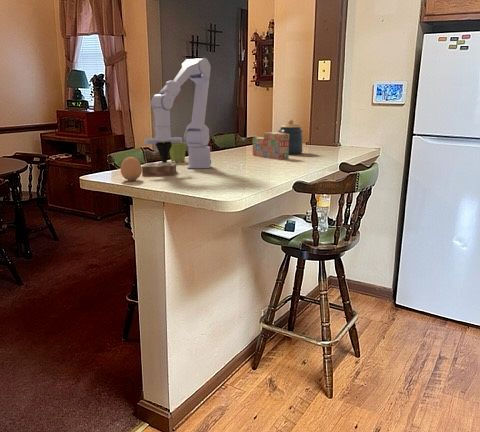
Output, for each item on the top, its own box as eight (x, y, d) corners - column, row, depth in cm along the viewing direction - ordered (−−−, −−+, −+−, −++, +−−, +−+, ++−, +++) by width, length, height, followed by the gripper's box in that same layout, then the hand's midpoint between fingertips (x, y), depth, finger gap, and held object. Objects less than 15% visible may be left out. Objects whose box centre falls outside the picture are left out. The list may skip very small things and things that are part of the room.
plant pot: (163, 162, 217) (162, 143, 215) (174, 160, 225) (173, 141, 223) (181, 163, 213) (181, 144, 211) (191, 160, 222) (190, 142, 220)
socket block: (176, 171, 189) (175, 162, 189) (174, 175, 180) (173, 165, 179) (146, 171, 189) (145, 162, 188) (142, 175, 179) (141, 166, 178)
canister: (303, 154, 244) (304, 120, 240) (278, 154, 245) (279, 120, 240) (301, 152, 257) (301, 119, 253) (277, 152, 257) (277, 119, 253)
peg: (170, 170, 186) (170, 161, 185) (169, 171, 182) (169, 162, 181) (160, 170, 186) (159, 161, 185) (159, 171, 182) (158, 162, 181)
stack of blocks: (252, 155, 242) (252, 131, 239) (261, 155, 246) (262, 131, 243) (279, 159, 225) (279, 133, 222) (289, 159, 229) (289, 133, 226)
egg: (123, 183, 164) (121, 158, 162) (119, 179, 170) (118, 156, 168) (144, 181, 167) (143, 157, 165) (139, 178, 173) (138, 155, 171)
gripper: (177, 125, 187) (178, 159, 190) (141, 126, 181) (143, 162, 184) (183, 126, 180) (184, 161, 184) (146, 127, 174) (148, 164, 178)
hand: (164, 162), depth 183 cm, fingers closed, pressing on peg
